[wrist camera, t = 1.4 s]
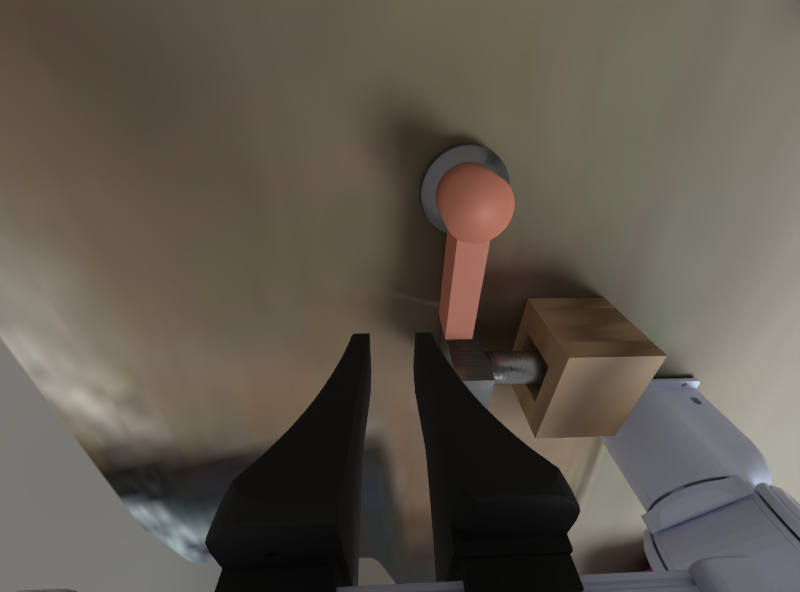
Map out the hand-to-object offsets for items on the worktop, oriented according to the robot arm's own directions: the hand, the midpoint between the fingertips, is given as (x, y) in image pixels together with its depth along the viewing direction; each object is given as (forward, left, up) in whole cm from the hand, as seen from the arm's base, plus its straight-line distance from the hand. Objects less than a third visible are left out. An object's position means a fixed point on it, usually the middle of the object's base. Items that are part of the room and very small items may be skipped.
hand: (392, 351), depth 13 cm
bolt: (-10, +8, -9) cm, 16 cm away
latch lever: (-4, -1, -9) cm, 10 cm away
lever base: (-5, -4, -10) cm, 12 cm away
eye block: (-14, +8, -10) cm, 19 cm away
